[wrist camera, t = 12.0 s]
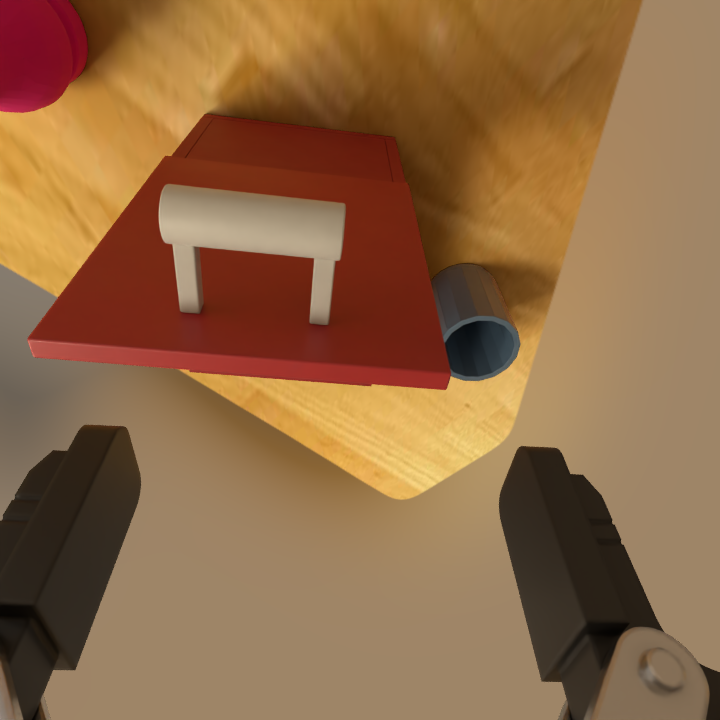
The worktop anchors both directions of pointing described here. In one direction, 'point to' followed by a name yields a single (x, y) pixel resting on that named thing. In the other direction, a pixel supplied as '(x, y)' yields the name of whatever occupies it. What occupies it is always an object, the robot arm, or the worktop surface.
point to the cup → (474, 322)
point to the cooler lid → (257, 280)
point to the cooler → (292, 157)
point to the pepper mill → (38, 52)
